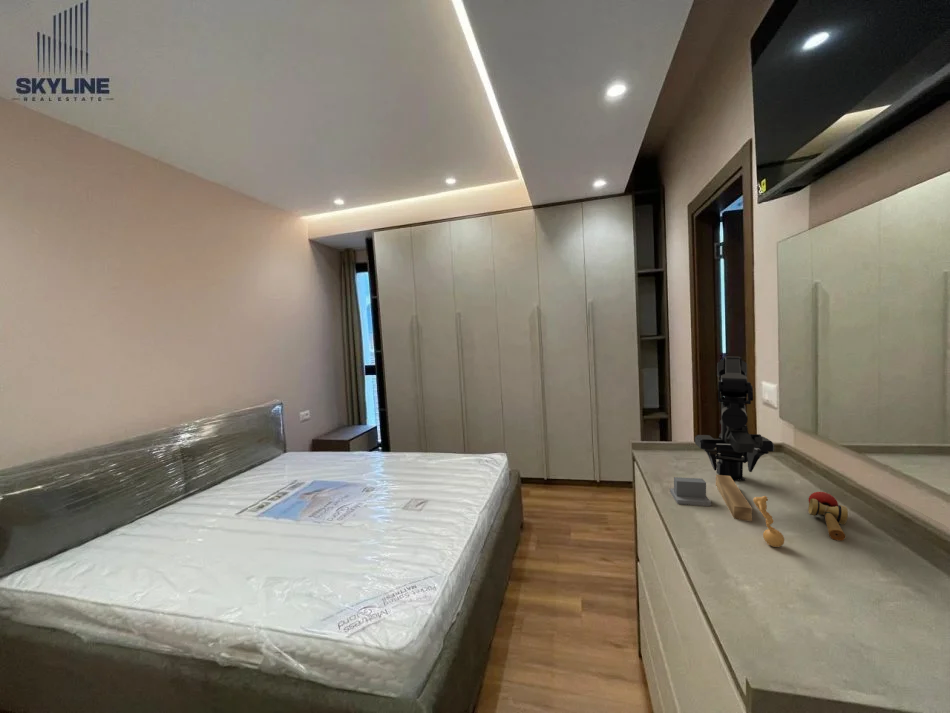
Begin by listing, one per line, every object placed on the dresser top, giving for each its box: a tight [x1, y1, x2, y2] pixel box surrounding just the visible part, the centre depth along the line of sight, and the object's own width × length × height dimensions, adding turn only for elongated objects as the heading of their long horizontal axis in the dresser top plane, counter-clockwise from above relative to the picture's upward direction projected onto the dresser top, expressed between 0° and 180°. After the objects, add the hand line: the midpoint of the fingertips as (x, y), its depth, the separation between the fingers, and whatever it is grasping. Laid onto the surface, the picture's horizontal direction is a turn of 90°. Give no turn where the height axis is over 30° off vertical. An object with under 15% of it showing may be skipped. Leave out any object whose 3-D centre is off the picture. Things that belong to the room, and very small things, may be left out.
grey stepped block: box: [669, 476, 712, 507], centre depth 112 cm, size 9×8×6 cm
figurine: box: [752, 495, 785, 548], centre depth 88 cm, size 8×6×12 cm
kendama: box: [808, 491, 849, 542], centre depth 96 cm, size 8×6×18 cm
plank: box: [715, 474, 753, 522], centre depth 109 cm, size 4×22×4 cm, turn 158°
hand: (732, 470), depth 109 cm, fingers open, 9 cm apart
